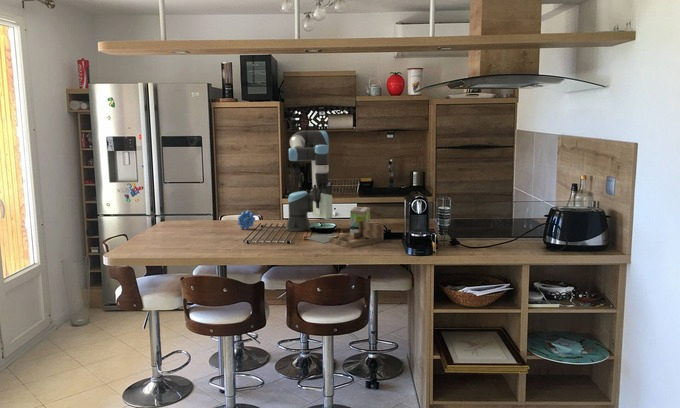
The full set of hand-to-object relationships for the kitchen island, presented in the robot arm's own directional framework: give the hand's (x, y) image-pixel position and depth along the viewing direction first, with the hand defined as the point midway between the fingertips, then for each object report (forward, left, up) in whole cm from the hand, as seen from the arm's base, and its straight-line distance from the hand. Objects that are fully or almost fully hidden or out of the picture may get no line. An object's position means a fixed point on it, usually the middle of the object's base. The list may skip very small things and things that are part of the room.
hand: (322, 213), depth 319 cm
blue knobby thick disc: (-55, -17, -16) cm, 60 cm away
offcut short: (+17, +3, -13) cm, 22 cm away
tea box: (+1, +28, -16) cm, 32 cm away
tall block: (0, 0, -2) cm, 2 cm away
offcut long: (+17, +4, -16) cm, 24 cm away
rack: (+17, +11, -15) cm, 25 cm away
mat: (0, 0, -15) cm, 15 cm away
